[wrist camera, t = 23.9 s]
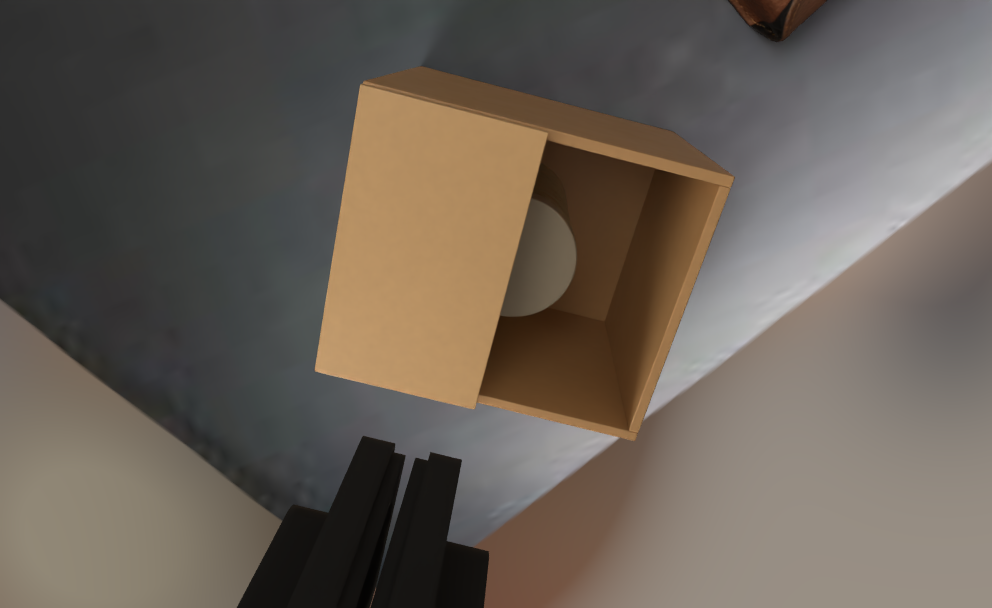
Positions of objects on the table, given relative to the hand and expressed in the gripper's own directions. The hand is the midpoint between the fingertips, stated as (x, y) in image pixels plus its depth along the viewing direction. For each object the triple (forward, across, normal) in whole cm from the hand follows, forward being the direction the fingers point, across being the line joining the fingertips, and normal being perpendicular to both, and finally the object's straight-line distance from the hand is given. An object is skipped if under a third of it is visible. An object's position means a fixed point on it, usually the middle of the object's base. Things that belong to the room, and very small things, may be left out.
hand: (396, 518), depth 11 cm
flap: (+14, +2, +1) cm, 14 cm away
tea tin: (+25, -1, +1) cm, 25 cm away
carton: (+26, -1, +1) cm, 26 cm away
